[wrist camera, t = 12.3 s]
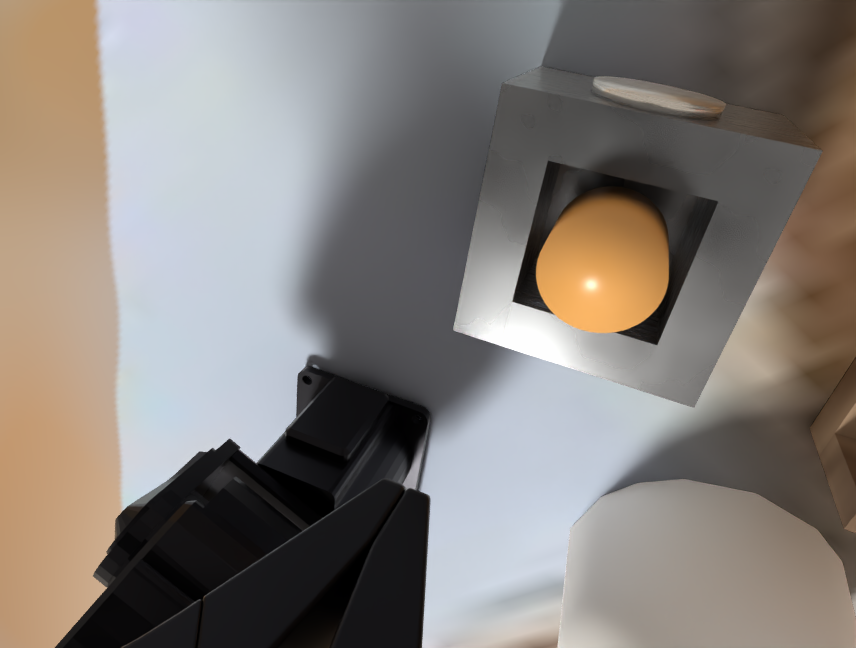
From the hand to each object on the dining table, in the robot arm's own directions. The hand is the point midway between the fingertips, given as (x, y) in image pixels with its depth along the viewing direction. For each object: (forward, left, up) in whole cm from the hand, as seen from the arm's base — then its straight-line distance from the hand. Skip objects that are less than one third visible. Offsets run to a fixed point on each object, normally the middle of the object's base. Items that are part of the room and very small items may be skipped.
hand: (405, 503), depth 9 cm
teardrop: (-13, -10, -13) cm, 21 cm away
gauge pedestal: (+2, -2, -13) cm, 13 cm away
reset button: (+2, -2, -11) cm, 11 cm away
